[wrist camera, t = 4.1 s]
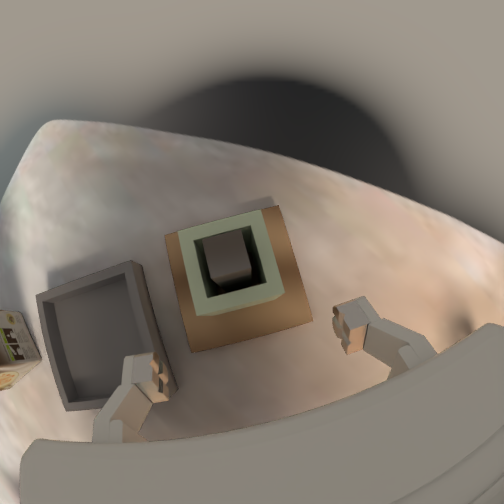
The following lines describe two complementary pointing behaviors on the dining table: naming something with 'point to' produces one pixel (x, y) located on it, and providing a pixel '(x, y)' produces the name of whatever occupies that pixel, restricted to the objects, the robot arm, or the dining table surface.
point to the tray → (98, 333)
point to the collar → (255, 243)
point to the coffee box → (15, 349)
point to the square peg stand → (240, 287)
